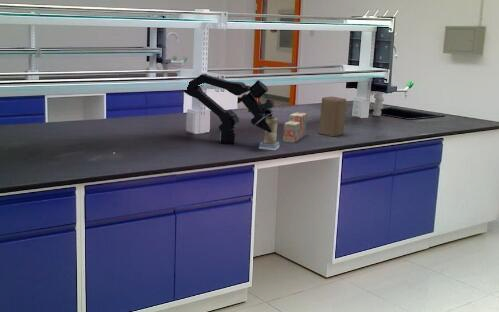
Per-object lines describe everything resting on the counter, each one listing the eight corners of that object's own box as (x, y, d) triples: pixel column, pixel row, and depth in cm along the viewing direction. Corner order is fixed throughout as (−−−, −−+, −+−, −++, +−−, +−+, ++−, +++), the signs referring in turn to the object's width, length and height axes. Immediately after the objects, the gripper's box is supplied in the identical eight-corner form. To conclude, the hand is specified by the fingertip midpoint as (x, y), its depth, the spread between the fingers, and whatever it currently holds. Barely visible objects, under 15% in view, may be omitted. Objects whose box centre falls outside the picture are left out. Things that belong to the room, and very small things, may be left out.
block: (317, 133, 306) (321, 97, 302) (328, 131, 314) (332, 96, 309) (333, 137, 300) (336, 100, 295) (343, 135, 307) (347, 98, 302)
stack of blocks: (294, 143, 280) (296, 118, 277) (282, 141, 282) (284, 117, 279) (305, 135, 300) (307, 113, 297) (294, 134, 302) (296, 111, 299)
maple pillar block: (263, 145, 265) (265, 117, 262) (266, 144, 269) (268, 115, 266) (273, 147, 264) (275, 118, 261) (275, 145, 268) (277, 116, 265)
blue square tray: (258, 148, 264) (259, 143, 263) (263, 145, 271) (263, 140, 271) (275, 150, 262) (275, 145, 261) (279, 147, 269) (279, 142, 268)
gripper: (259, 96, 253) (281, 123, 252) (269, 91, 270) (290, 116, 270) (241, 111, 257) (263, 138, 256) (253, 106, 274) (273, 130, 274)
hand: (273, 130), depth 264 cm, fingers open, 9 cm apart
